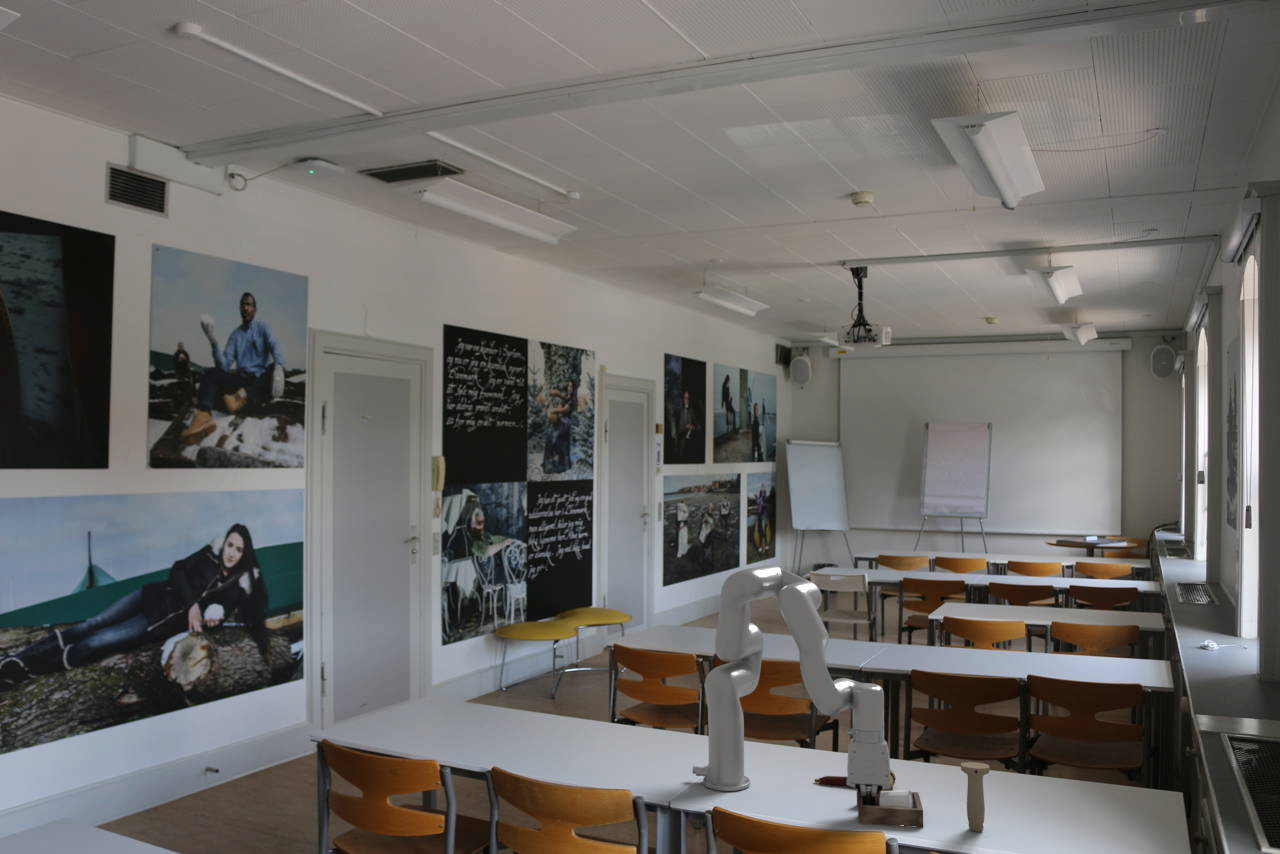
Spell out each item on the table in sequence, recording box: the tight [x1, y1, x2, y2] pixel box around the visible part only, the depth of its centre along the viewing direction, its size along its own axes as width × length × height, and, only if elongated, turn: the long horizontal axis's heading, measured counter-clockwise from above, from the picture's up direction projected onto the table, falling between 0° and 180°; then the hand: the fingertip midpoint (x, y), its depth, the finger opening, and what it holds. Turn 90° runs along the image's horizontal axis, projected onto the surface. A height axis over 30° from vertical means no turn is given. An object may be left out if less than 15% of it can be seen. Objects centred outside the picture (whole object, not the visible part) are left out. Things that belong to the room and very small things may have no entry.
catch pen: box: [856, 788, 924, 828], centre depth 244 cm, size 15×13×4 cm
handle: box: [960, 761, 991, 833], centre depth 234 cm, size 5×6×15 cm
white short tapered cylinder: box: [879, 789, 914, 808], centre depth 243 cm, size 7×7×7 cm
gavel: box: [814, 769, 897, 791], centre depth 266 cm, size 21×5×10 cm
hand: (868, 810), depth 244 cm, fingers closed
